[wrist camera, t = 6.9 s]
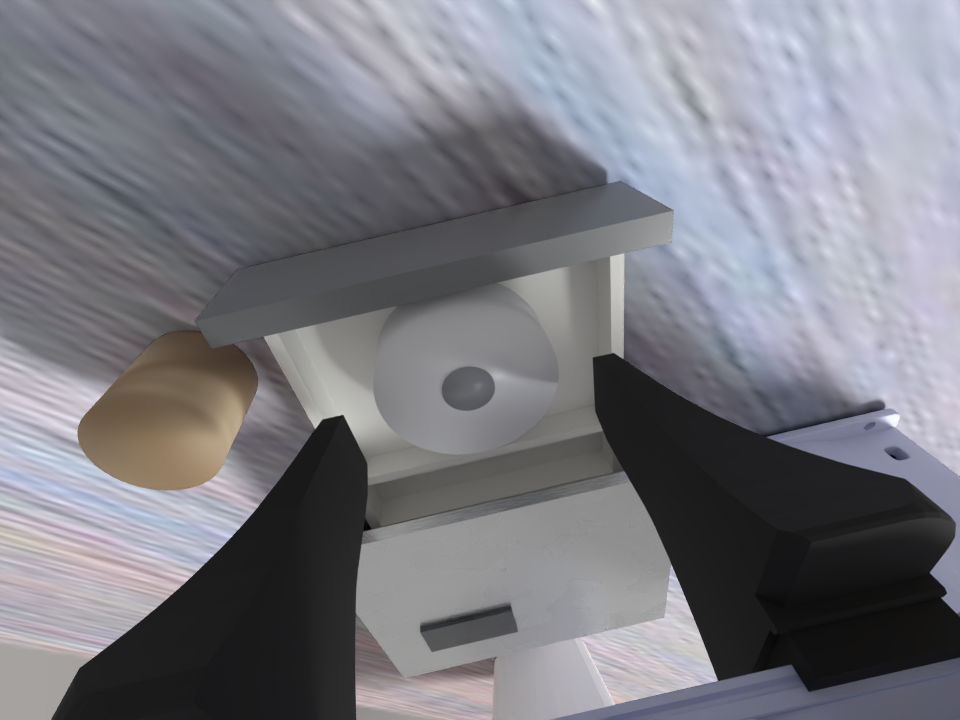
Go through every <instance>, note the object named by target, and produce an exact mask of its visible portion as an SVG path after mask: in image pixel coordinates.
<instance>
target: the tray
mask: <svg viewBox="0 0 960 720" xmlns="http://www.w3.org/2000/svg"><path fill="white" fill-rule="evenodd" d="M673 215H674V210H672V209H670V208H668V207H667V206H665V205H663V204H661V203H659V202H658V201H656V200H654V199H652V198H651V197H649V196H647V195H645V194H643V193H642V192H640V191H638V190H636V189H635V188H633V187H631V186H629V185H628V184H626V183H624V182H622V181H618V182H614V183H610V184H605V185H601V186H597V187H592V188H588V189H584V190H579V191H575V192H571V193H566V194H562V195H558V196H553V197H549V198H545V199H540V200H536V201H532V202H527V203H523V204H519V205H514V206H510V207H506V208H501V209H497V210H493V211H488V212H484V213H480V214H475V215H471V216H467V217H462V218H458V219H454V220H449V221H445V222H441V223H436V224H432V225H428V226H423V227H419V228H415V229H410V230H406V231H402V232H397V233H393V234H389V235H384V236H380V237H376V238H371V239H367V240H363V241H358V242H354V243H350V244H345V245H341V246H337V247H332V248H328V249H324V250H319V251H315V252H311V253H306V254H302V255H298V256H293V257H289V258H285V259H280V260H276V261H272V262H267V263H263V264H259V265H254V266H250V267H246V268H241V269H237V270H236V271H235V273H234V274H233V275H232V276H231V278H230V279H229V280H228V281H227V282H226V284H225V285H224V286H223V287H222V288H221V290H220V291H219V292H218V293H217V294H216V296H215V297H214V298H213V299H212V300H211V302H210V303H209V304H208V305H207V307H206V308H205V309H204V310H203V311H202V313H201V314H200V315H199V316H198V317H197V319H196V320H195V321H194V322H195V323H196V325H197V326H198V328H199V330H200V331H201V333H202V334H203V336H204V337H205V339H206V340H207V342H208V343H209V345H210V346H211V348H212V349H213V348H217V347H221V346H226V345H230V344H234V343H239V342H243V341H247V340H251V339H256V338H260V337H264V339H265V341H266V343H267V344H268V346H269V348H270V350H271V351H272V353H273V355H274V357H275V359H276V360H277V362H278V364H279V366H280V367H281V369H282V371H283V373H284V375H285V376H286V378H287V380H288V382H289V383H290V385H291V387H292V389H293V391H294V392H295V394H296V396H297V398H298V399H299V401H300V403H301V405H302V407H303V408H304V410H305V412H306V414H307V415H308V417H309V419H310V421H311V422H312V424H313V426H314V428H315V429H316V428H317V426H318V425H319V423H320V422H321V421H322V419H327V418H331V417H335V416H340V415H344V417H345V419H346V421H347V423H348V425H349V427H350V429H351V431H352V433H353V435H354V437H355V439H356V441H357V443H358V445H359V447H360V449H361V451H362V453H363V455H364V457H365V459H366V461H367V464H368V498H367V506H366V514H365V518H366V520H367V522H368V524H369V525H370V527H371V529H372V530H373V529H377V528H381V527H386V526H390V525H394V524H399V523H403V522H407V521H411V520H416V519H420V518H424V517H429V516H433V515H437V514H441V513H446V512H450V511H454V510H459V509H463V508H467V507H471V506H476V505H480V504H484V503H489V502H493V501H497V500H501V499H506V498H510V497H514V496H519V495H523V494H527V493H531V492H536V491H540V490H544V489H549V488H553V487H557V486H562V485H566V484H570V483H574V482H579V481H583V480H587V479H592V478H596V477H600V476H604V475H609V474H613V473H617V472H622V471H623V468H622V466H621V464H620V463H619V461H618V459H617V457H616V456H615V454H614V452H613V450H612V449H611V447H610V445H609V443H608V441H607V439H606V437H605V434H604V432H603V430H602V427H601V425H600V422H599V420H598V417H597V415H596V412H595V400H594V378H593V357H598V356H602V355H606V354H611V353H615V354H616V355H618V356H619V357H621V358H622V359H624V253H627V252H632V251H636V250H640V249H645V248H649V247H653V246H658V245H662V244H666V243H671V242H672V229H673ZM494 283H498V284H500V285H503V286H505V287H507V288H509V289H511V290H512V291H514V292H515V293H517V294H518V295H520V296H521V297H522V298H523V299H524V300H525V301H526V302H527V303H528V304H529V305H530V306H531V308H532V309H533V310H534V312H535V314H536V315H537V317H538V319H539V321H540V323H541V325H542V327H543V329H544V331H545V333H546V335H547V337H548V339H549V341H550V343H551V345H552V347H553V349H554V352H555V354H556V357H557V361H558V367H559V379H558V386H557V390H556V394H555V396H554V399H553V401H552V403H551V405H550V407H549V408H548V410H547V412H546V413H545V414H544V416H543V417H542V418H541V419H540V420H539V421H538V423H537V424H536V425H535V426H534V427H532V428H531V429H530V430H529V431H528V432H526V433H525V434H523V435H522V436H520V437H519V438H517V439H516V440H514V441H512V442H510V443H508V444H506V445H503V446H501V447H498V448H496V449H492V450H489V451H485V452H480V453H474V454H459V455H454V454H443V453H437V452H433V451H429V450H426V449H423V448H420V447H418V446H415V445H413V444H411V443H410V442H408V441H406V440H404V439H403V438H402V437H400V436H399V435H397V434H396V433H395V432H394V431H393V430H392V429H391V428H390V427H389V426H388V424H387V423H386V422H385V421H384V419H383V418H382V416H381V414H380V412H379V410H378V408H377V405H376V402H375V398H374V392H373V380H374V371H375V363H376V355H377V347H378V340H379V336H380V333H381V330H382V328H383V326H384V324H385V322H386V320H387V318H388V317H389V316H390V314H391V313H392V311H393V310H394V309H395V308H396V307H397V306H398V305H403V304H407V303H411V302H416V301H420V300H424V299H429V298H433V297H437V296H442V295H446V294H450V293H455V292H459V291H463V290H468V289H472V288H476V287H481V286H485V285H489V284H494Z"/></svg>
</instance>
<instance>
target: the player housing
mask: <svg viewBox="0 0 960 720" xmlns="http://www.w3.org/2000/svg"><path fill="white" fill-rule="evenodd" d="M670 567H671V562H670V560H669V557H668V555H667V553H666V550H665V548H664V546H663V544H662V542H661V539H660V537H659V535H658V533H657V530H656V528H655V526H654V524H653V522H652V519H651V518H650V516H649V514H648V512H647V510H646V508H645V506H644V504H643V503H642V501H641V499H640V497H639V496H638V494H637V492H636V490H635V489H634V487H633V485H632V483H631V482H630V480H629V478H628V477H627V475H626V473H625V471H624V470H623V471H622V472H617V473H613V474H609V475H604V476H600V477H596V478H592V479H587V480H583V481H579V482H574V483H570V484H566V485H562V486H557V487H553V488H549V489H544V490H540V491H536V492H531V493H527V494H523V495H519V496H514V497H510V498H506V499H501V500H497V501H493V502H489V503H484V504H480V505H476V506H471V507H467V508H463V509H459V510H454V511H450V512H446V513H441V514H437V515H433V516H429V517H424V518H420V519H416V520H411V521H407V522H403V523H399V524H394V525H390V526H386V527H381V528H377V529H373V530H372V529H371V527H370V525H369V524H368V522H367V520H366V518H365V522H364V530H363V537H362V544H361V552H360V559H359V567H358V576H357V587H356V614H357V615H358V617H359V618H360V619H361V621H362V622H363V623H364V625H365V626H366V627H367V629H368V630H369V631H370V633H371V634H372V635H373V637H374V638H375V640H376V641H377V642H378V644H379V645H380V646H381V648H382V649H383V650H384V652H385V653H386V654H387V656H388V657H389V658H390V660H391V661H392V663H393V664H394V665H395V667H396V668H397V669H398V671H399V672H400V673H401V675H402V676H403V677H404V678H408V677H412V676H417V675H421V674H425V673H430V672H434V671H438V670H442V669H447V668H451V667H455V666H459V665H464V664H468V663H472V662H476V661H481V660H485V659H489V658H493V657H498V656H502V655H506V654H511V653H515V652H519V651H523V650H528V649H532V648H536V647H540V646H545V645H549V644H553V643H557V642H562V641H566V640H570V639H575V638H579V637H583V636H587V635H592V634H596V633H600V632H604V631H609V630H613V629H617V628H621V627H626V626H630V625H634V624H638V623H643V622H647V621H651V620H656V619H660V618H664V614H665V606H666V598H667V591H668V583H669V575H670Z"/></svg>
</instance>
